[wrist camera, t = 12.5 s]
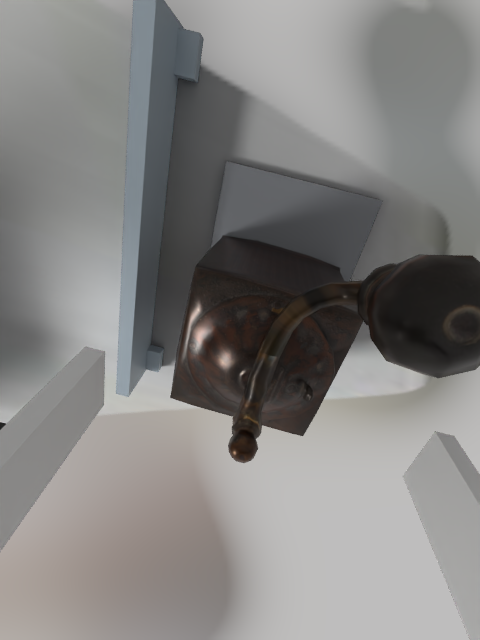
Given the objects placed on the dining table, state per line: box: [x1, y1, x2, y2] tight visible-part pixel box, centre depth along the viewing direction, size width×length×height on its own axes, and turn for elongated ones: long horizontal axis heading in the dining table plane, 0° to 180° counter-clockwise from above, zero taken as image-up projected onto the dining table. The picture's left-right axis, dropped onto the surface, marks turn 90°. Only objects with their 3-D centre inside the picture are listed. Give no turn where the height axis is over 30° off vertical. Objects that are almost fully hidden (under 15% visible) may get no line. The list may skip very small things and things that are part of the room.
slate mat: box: [210, 161, 383, 282], centre depth 27 cm, size 12×16×1 cm
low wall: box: [116, 0, 203, 397], centre depth 25 cm, size 4×28×5 cm, turn 167°
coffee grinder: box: [170, 235, 480, 463], centre depth 19 cm, size 16×11×18 cm
